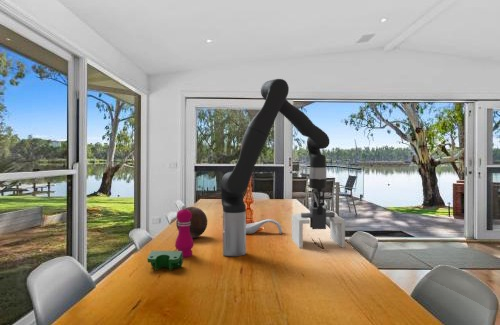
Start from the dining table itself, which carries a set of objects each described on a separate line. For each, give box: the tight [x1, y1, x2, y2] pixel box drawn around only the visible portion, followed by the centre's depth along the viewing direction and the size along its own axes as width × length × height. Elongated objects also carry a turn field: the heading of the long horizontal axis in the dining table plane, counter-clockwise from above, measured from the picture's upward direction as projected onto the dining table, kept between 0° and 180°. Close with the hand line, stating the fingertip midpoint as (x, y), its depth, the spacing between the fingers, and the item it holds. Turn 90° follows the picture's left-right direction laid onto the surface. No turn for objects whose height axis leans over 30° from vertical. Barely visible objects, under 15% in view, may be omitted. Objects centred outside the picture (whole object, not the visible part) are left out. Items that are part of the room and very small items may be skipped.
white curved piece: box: [246, 218, 283, 235], centre depth 201 cm, size 24×12×7 cm, turn 83°
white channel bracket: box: [291, 212, 346, 249], centre depth 177 cm, size 20×18×14 cm
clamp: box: [147, 250, 184, 272], centre depth 137 cm, size 12×6×9 cm, turn 80°
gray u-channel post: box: [309, 207, 327, 230], centre depth 176 cm, size 6×5×9 cm
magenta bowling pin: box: [174, 205, 195, 258], centre depth 155 cm, size 7×7×20 cm
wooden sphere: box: [175, 206, 208, 239], centre depth 189 cm, size 15×15×15 cm
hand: (317, 213), depth 176 cm, fingers open, 8 cm apart
